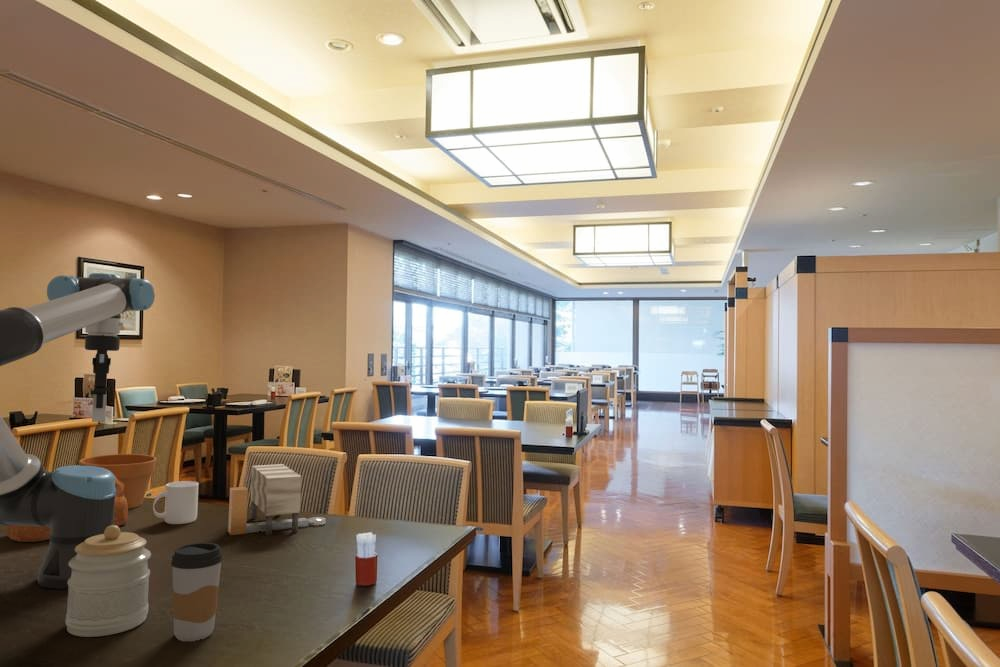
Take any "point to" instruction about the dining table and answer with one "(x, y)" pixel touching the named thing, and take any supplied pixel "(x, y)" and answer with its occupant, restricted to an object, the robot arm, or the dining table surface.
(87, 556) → the jar
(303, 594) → the dining table surface
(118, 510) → the bread
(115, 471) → the flower pot
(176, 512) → the mug
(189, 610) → the coffee cup
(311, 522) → the token
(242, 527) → the grey l-shaped rod
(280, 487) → the cabinet
